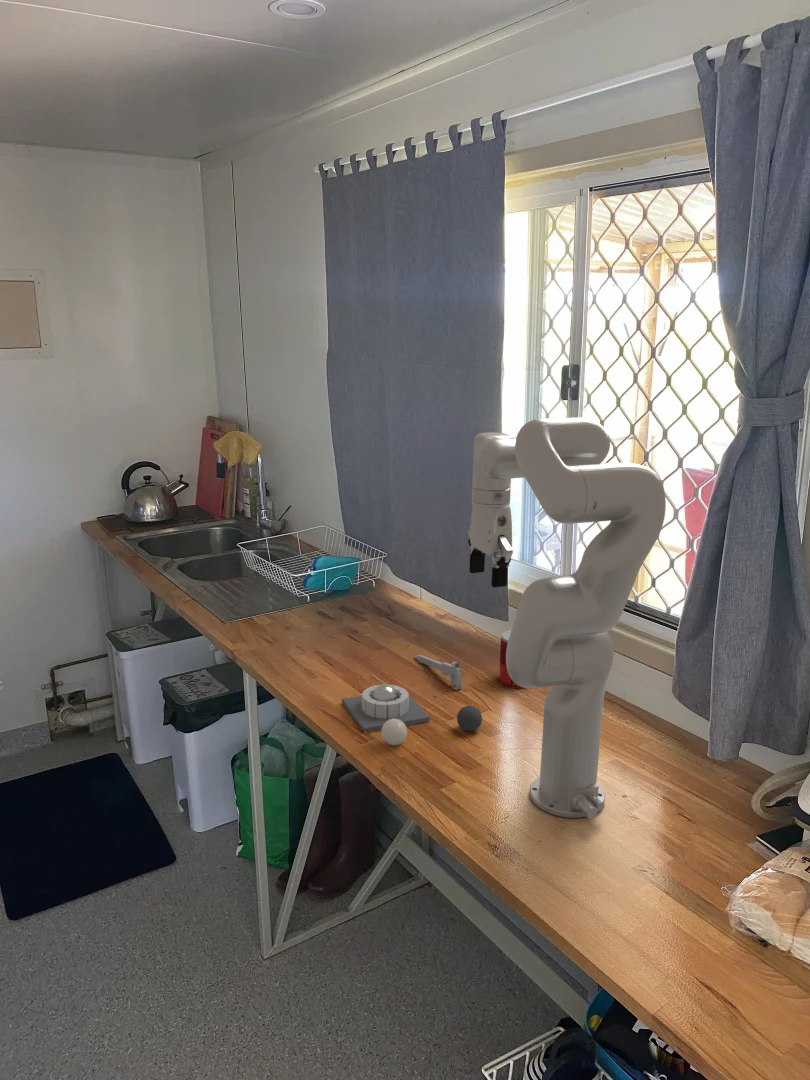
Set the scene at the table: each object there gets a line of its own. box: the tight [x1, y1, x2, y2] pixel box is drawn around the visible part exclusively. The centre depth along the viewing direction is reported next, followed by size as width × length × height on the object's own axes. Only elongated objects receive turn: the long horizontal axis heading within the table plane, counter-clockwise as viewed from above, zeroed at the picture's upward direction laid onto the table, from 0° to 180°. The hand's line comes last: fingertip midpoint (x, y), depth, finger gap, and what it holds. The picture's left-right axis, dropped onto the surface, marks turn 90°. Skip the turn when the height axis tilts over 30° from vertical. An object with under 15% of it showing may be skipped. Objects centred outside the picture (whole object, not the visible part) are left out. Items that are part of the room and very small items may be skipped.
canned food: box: [498, 629, 525, 689], centre depth 191 cm, size 8×8×11 cm
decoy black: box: [456, 705, 483, 732], centre depth 169 cm, size 5×5×5 cm
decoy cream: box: [380, 719, 408, 746], centre depth 163 cm, size 5×5×5 cm
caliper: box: [413, 654, 462, 691], centre depth 195 cm, size 20×1×6 cm, turn 27°
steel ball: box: [373, 683, 397, 702], centre depth 176 cm, size 5×5×5 cm
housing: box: [341, 684, 430, 733], centre depth 176 cm, size 14×14×4 cm
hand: (487, 579), depth 172 cm, fingers open, 9 cm apart
